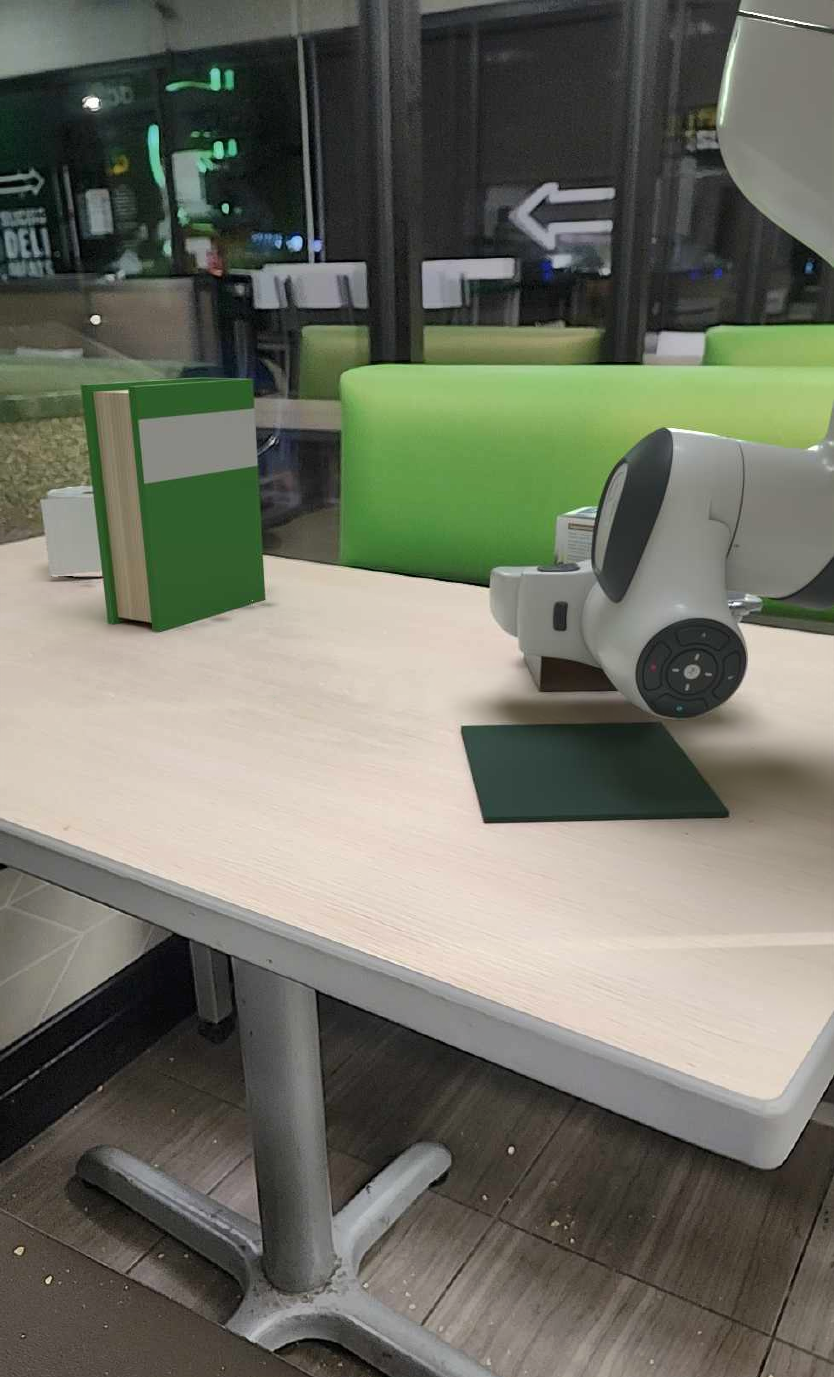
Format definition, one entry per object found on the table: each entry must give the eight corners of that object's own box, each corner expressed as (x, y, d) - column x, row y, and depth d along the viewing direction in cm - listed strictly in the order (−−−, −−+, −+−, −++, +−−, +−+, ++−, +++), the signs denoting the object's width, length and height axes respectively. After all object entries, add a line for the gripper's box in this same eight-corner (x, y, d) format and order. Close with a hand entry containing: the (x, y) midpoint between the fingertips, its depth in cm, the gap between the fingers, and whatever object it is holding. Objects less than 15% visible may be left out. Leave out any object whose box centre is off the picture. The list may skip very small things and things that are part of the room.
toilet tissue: (146, 561, 153) (138, 484, 149) (132, 579, 142) (123, 497, 138) (65, 562, 152) (56, 485, 148) (45, 581, 141) (34, 499, 137)
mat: (660, 726, 90) (661, 721, 90) (728, 816, 73) (729, 811, 73) (460, 730, 89) (461, 725, 89) (484, 822, 73) (484, 816, 73)
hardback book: (158, 632, 118) (135, 386, 108) (107, 623, 121) (80, 384, 112) (265, 599, 132) (252, 378, 122) (216, 592, 135) (200, 377, 125)
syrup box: (571, 661, 107) (580, 504, 101) (630, 670, 104) (642, 509, 98) (546, 676, 103) (553, 513, 97) (606, 685, 100) (618, 518, 94)
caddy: (632, 656, 109) (636, 605, 107) (659, 689, 99) (664, 633, 97) (523, 658, 108) (525, 606, 106) (539, 691, 98) (541, 635, 96)
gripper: (775, 567, 84) (720, 535, 97) (502, 571, 83) (483, 538, 96) (765, 650, 87) (713, 608, 99) (500, 654, 86) (481, 612, 98)
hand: (598, 574), depth 98 cm, fingers open, 8 cm apart
